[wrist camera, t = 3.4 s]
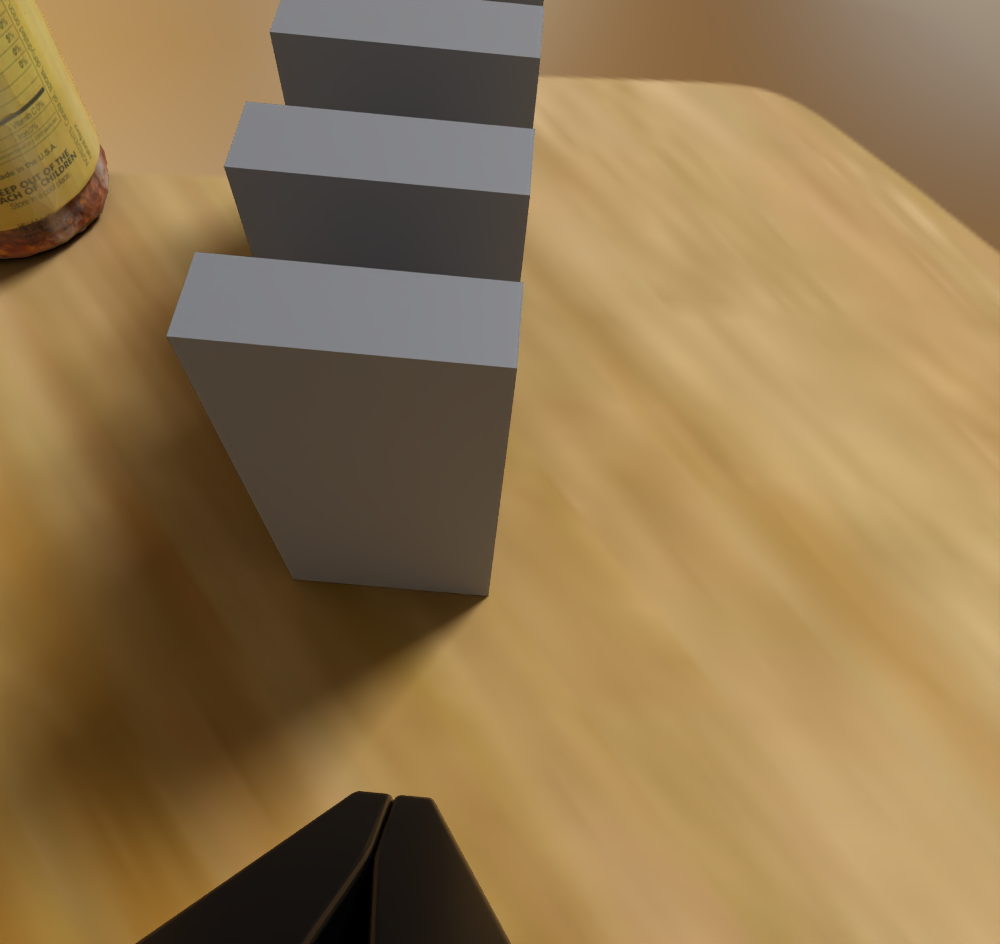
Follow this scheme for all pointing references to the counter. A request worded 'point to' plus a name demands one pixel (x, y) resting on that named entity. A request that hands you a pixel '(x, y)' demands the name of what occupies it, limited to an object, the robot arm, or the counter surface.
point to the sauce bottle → (43, 140)
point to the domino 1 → (411, 58)
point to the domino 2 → (382, 190)
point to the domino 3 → (359, 411)
